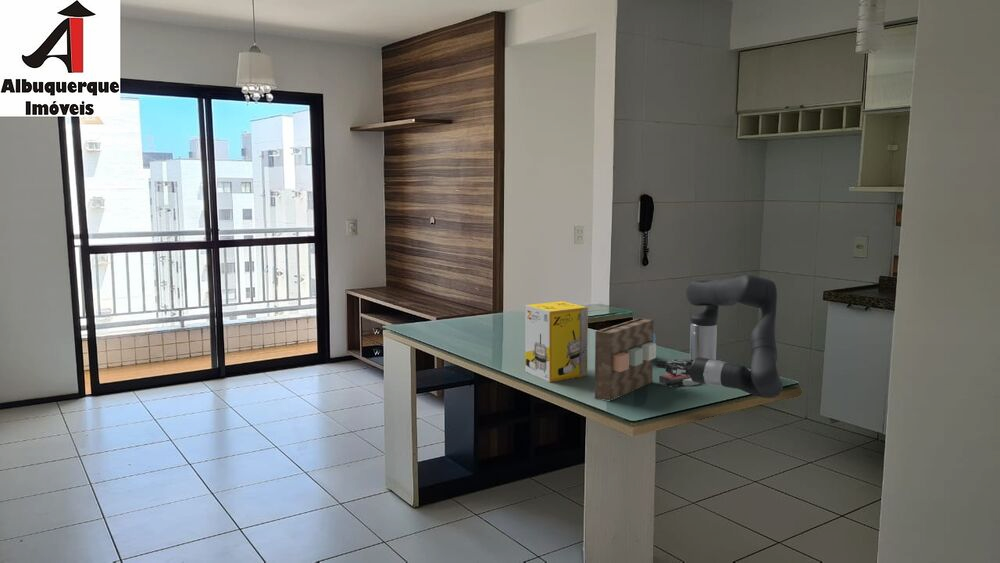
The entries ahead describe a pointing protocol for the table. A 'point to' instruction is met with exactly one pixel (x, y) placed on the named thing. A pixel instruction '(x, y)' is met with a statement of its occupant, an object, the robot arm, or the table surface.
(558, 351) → the packaging box
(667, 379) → the walkie-talkie
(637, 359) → the sage key
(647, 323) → the keypad panel
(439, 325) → the table surface
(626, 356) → the terracotta key
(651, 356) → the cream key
